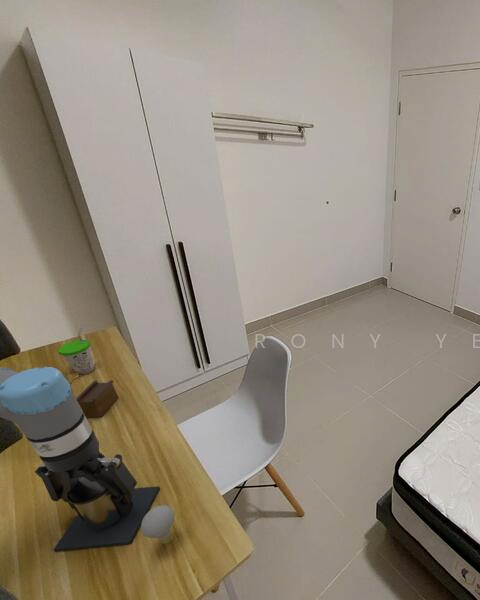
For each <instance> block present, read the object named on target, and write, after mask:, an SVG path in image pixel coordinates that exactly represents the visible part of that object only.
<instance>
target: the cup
mask: <svg viewBox="0 0 480 600" xmlns="http://www.w3.org/2000/svg"><path fill="white" fill-rule="evenodd" d="M82 330H83V328H82V327H80V328H79V329H78V332H77V338H78V339H77V340H72V341H69V342H67V343H65V344H62V345H61V346H60V347H59V348H58V349H57V350H58V352H57V353H58V354H59V355H60V356H62V357H63V358H64V359H65V361H66V362H67V364H69V366H70V367H71V368H72V370H73V371H74V372H76V373H78V374H77V375H78V376H85V375H88V374H90V373H92V372H93V371H94V370H95V364H94V360H93V355H92V351H91V341H90V340H87V339H83V338H82V336H81V333H82Z"/></svg>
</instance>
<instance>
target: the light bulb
mask: <svg viewBox="0 0 480 600" xmlns="http://www.w3.org/2000/svg"><path fill="white" fill-rule="evenodd" d="M174 522H175V512H174V510H173V508H171V506H168V505H166V504H165V505H158V506H154V507H153V508H152V509H151V508H150V509H149V511H148V513H147V514H146V515H145V516H144V518H143V520H142V523H141V526H140V530H141V533H142V535H143V536H144V537H146V538H148V539H158V541H160V544H162V545H167V544H169V543H170V542H171V541H172V539H173V534H172V530H171V528H172V527H173V525H174Z"/></svg>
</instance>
